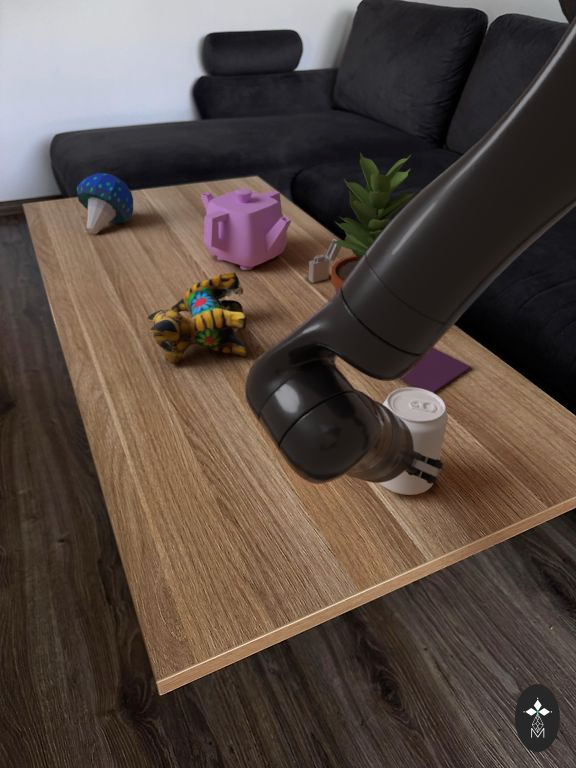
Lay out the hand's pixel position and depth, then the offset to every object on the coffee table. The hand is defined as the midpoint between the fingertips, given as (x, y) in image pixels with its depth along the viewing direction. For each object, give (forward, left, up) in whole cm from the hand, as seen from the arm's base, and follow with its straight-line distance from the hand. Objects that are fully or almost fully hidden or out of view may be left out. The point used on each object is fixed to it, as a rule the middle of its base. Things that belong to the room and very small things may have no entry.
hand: (402, 459), depth 73 cm
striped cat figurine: (+47, -2, -6) cm, 47 cm away
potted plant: (+34, -31, -6) cm, 46 cm away
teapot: (+69, -30, -6) cm, 75 cm away
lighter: (+50, -36, -6) cm, 62 cm away
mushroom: (+106, -16, -6) cm, 107 cm away
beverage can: (+1, -3, -6) cm, 7 cm away
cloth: (+16, -25, -6) cm, 30 cm away
